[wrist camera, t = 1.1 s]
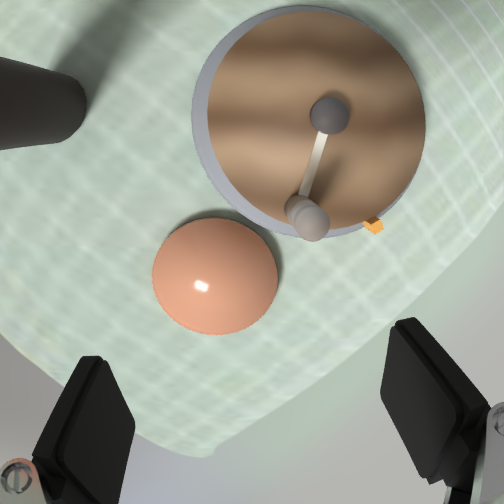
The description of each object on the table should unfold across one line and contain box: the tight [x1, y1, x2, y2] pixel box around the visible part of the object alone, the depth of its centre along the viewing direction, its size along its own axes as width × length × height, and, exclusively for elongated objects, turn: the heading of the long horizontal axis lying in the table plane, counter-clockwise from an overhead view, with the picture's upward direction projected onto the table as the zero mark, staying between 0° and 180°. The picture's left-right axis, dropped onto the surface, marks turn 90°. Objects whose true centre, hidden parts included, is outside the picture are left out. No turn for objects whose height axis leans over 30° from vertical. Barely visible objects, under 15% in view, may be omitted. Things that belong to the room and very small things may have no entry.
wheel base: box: [191, 6, 422, 238], centre depth 26 cm, size 22×22×3 cm
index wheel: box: [207, 11, 425, 242], centre depth 23 cm, size 19×19×7 cm
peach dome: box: [152, 217, 278, 335], centre depth 31 cm, size 12×12×1 cm
